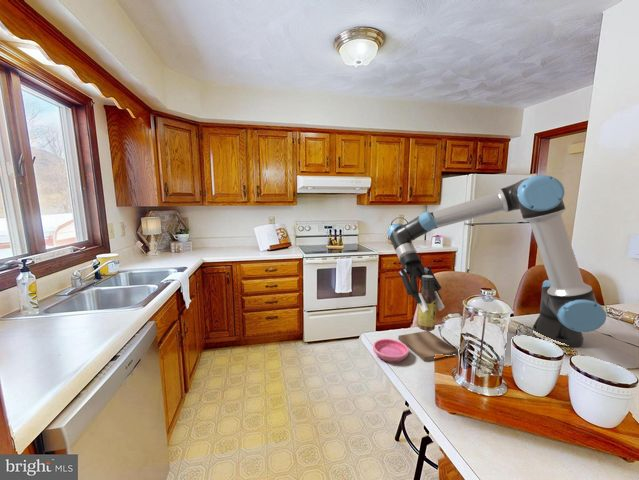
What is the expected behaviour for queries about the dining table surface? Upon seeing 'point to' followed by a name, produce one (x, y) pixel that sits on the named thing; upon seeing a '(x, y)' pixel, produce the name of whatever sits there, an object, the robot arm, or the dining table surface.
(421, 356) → the walnut serving board
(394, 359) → the saucer
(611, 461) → the dining table surface
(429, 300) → the sauce bottle
